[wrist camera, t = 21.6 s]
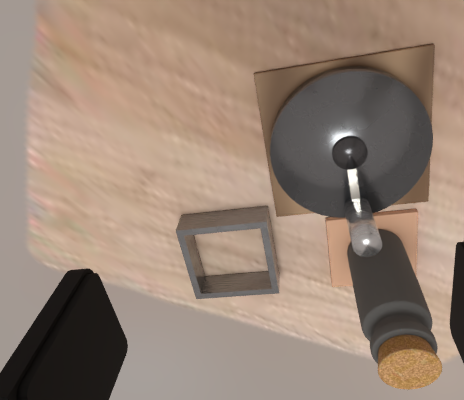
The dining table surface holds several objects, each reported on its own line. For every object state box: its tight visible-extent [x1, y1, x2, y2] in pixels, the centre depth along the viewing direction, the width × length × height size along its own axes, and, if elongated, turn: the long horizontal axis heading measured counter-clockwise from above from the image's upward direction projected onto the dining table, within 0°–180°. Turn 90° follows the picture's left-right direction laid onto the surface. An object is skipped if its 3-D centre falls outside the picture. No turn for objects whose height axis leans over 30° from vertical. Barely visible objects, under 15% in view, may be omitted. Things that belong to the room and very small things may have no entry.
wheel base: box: [254, 44, 435, 217], centre depth 41 cm, size 15×15×1 cm
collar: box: [176, 206, 279, 299], centre depth 47 cm, size 9×9×3 cm
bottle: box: [347, 229, 442, 389], centre depth 40 cm, size 6×6×15 cm
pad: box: [326, 209, 418, 287], centre depth 47 cm, size 9×9×1 cm
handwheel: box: [270, 66, 433, 257], centre depth 37 cm, size 14×14×8 cm
